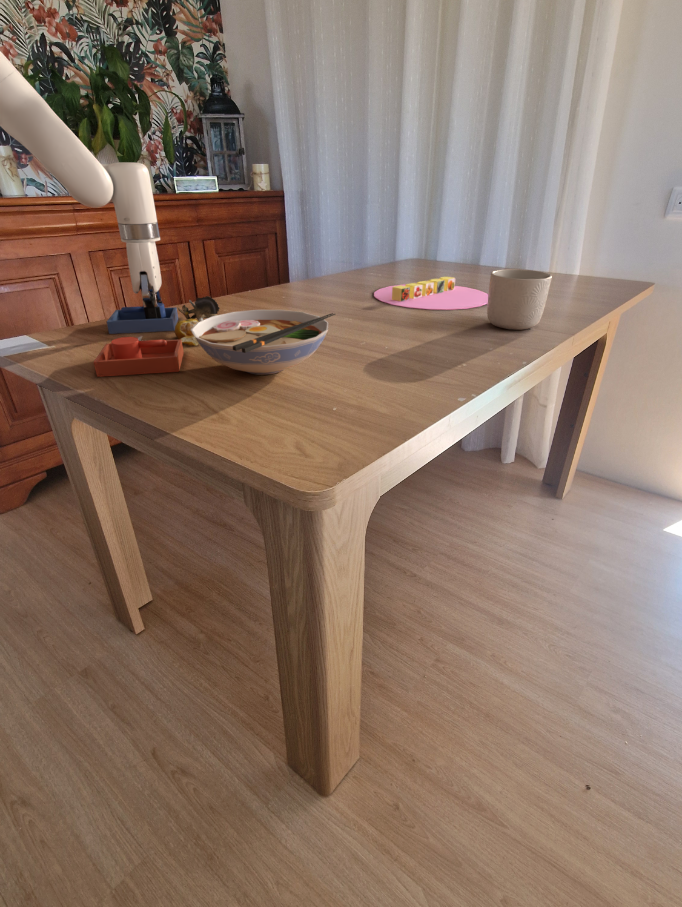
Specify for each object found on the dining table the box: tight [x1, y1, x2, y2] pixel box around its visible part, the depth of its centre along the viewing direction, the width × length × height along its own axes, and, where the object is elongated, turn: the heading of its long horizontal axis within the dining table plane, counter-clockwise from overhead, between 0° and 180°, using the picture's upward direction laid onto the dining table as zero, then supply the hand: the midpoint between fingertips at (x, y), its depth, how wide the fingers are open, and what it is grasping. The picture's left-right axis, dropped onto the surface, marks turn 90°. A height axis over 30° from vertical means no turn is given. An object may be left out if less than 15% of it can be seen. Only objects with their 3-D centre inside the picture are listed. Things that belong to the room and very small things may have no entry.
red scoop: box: [110, 336, 167, 360], centre depth 87 cm, size 9×4×4 cm, turn 101°
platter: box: [373, 276, 489, 311], centre depth 136 cm, size 32×32×3 cm
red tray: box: [93, 339, 185, 378], centre depth 87 cm, size 13×10×3 cm
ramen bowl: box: [191, 309, 336, 376], centre depth 84 cm, size 25×23×8 cm
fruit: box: [173, 318, 200, 347], centre depth 100 cm, size 8×8×4 cm
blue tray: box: [106, 306, 179, 335], centre depth 109 cm, size 13×10×3 cm
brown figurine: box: [177, 295, 221, 322], centre depth 109 cm, size 8×7×9 cm
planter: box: [486, 268, 553, 331], centre depth 108 cm, size 12×12×11 cm
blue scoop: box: [120, 302, 166, 319], centre depth 108 cm, size 9×4×4 cm, turn 101°
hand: (156, 321), depth 110 cm, fingers closed on blue scoop, 4 cm apart
